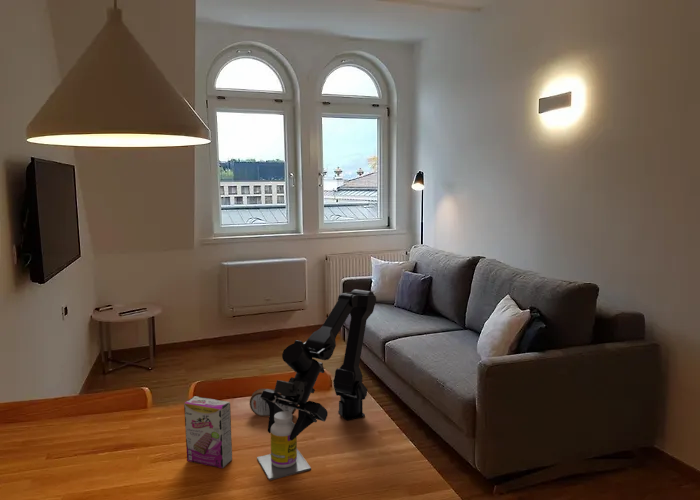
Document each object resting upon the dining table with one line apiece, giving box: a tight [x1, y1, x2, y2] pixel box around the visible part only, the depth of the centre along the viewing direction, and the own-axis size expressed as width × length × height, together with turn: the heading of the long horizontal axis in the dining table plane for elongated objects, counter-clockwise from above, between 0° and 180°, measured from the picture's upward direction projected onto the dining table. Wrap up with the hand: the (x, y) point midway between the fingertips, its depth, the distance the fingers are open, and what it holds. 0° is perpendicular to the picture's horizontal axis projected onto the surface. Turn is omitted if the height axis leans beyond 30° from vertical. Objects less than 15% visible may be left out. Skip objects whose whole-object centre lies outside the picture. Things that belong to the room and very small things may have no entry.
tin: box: [249, 388, 299, 418], centre depth 164 cm, size 15×3×8 cm, turn 84°
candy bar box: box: [183, 395, 233, 469], centre depth 138 cm, size 11×5×16 cm, turn 71°
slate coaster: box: [256, 448, 312, 481], centre depth 137 cm, size 11×11×1 cm
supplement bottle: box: [270, 411, 298, 468], centre depth 136 cm, size 7×7×13 cm
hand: (279, 436), depth 135 cm, fingers open, 7 cm apart
